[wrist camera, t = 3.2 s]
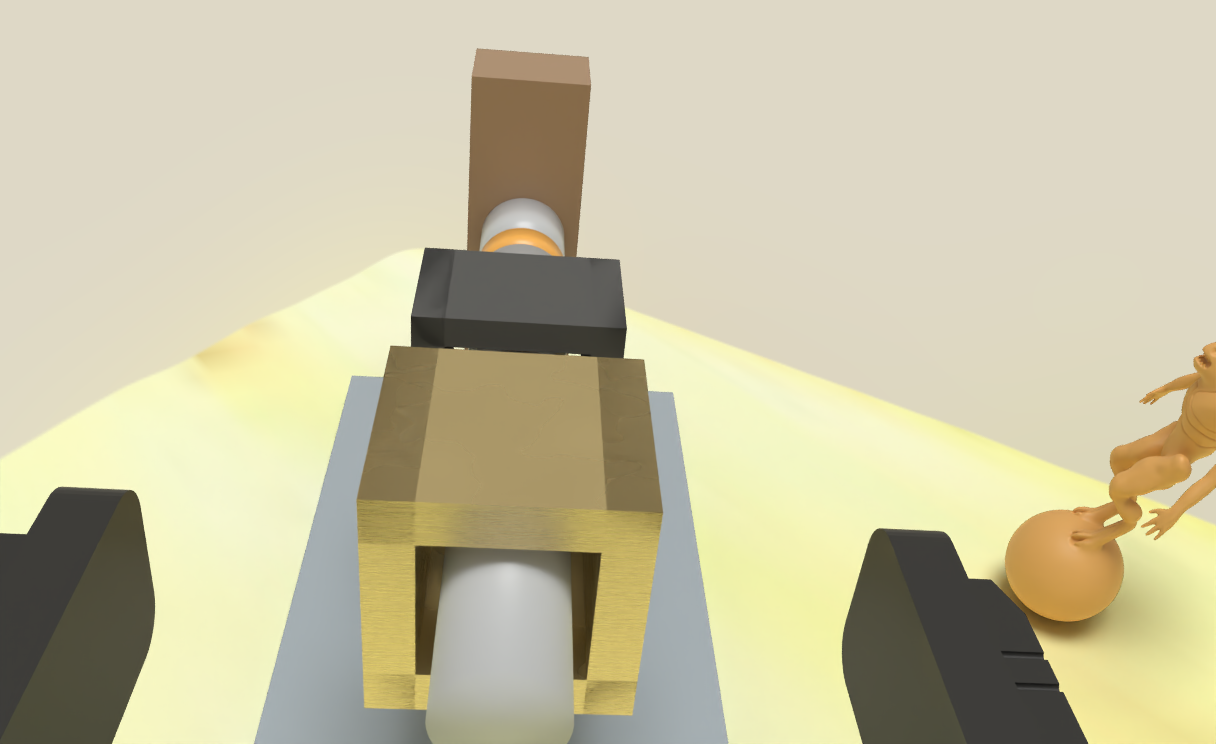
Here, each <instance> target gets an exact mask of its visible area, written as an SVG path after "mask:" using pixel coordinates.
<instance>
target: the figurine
mask: <svg viewBox="0 0 1216 744" xmlns="http://www.w3.org/2000/svg"><path fill="white" fill-rule="evenodd" d="M1203 351H1204V354H1205V355H1201V356H1200V355H1199V356H1198V357H1195V358H1194V367H1195V369H1196V370H1197V371H1198V372H1197V373H1193V374H1189V375H1186V376H1182V377H1179V378H1177V379H1175V380H1174V381H1172V382H1170V383H1168V384H1166V385H1164V386H1162V387H1160V388H1158V389H1156V390H1154V391H1152V392H1150V393H1148V394H1147V395H1146V397H1145V398H1143V399H1142V400H1140V403H1141V402H1143V401H1144V403H1143V404H1146V403H1147V402H1149V401H1151V400H1152V399H1154V398H1155V399H1154V400H1153V401H1152V402H1151V403H1150V404H1153V403H1154V402H1156V401H1157V400H1158V399H1159V398H1161V397H1162V396H1165V395H1166V394H1168V393H1169V392H1172V391H1177V390H1183V389H1187V388H1188V390H1187V392H1186V395H1185V397H1184V401H1183V405H1182V414H1181V416H1180V418H1179V420H1178V421H1175V422H1173V423H1171V424H1170V425H1168V426H1166V427H1164V428H1162V429H1160V430H1159V431H1157V432H1156V433H1154V434H1152V435H1149V436H1146V437H1143V438H1141V439H1139V440H1136V441H1134V442H1132V443H1129V444H1126V445H1122V446H1118V447H1116V448H1115V449H1113V451H1112V452H1111V455H1110V466H1111V469H1112V471H1113V473H1114V475H1115V476H1114V477H1113V479H1112V480H1111V482H1110V486H1109V495H1110V497H1111V499H1112V500H1113V502H1110V503H1107V504H1105V505H1102V506H1100V507H1097V508H1089V507H1078V508H1075V509H1074V510H1073V511H1070V510H1052V511H1046V512H1043V513H1040V514H1037V515H1035V516H1033V517H1031V518H1030V519H1028V520H1027V521H1025V522H1024V523H1023V524H1022V525H1021V526H1020V527H1019V528H1018V529H1017V530H1016V531H1015V533H1014V534H1013V536H1012V537H1011V539H1010V541H1009V544H1008V547H1007V550H1006V556H1005V569H1006V574H1007V578H1008V581H1009V584H1010V586H1011V588H1012V590H1013V591H1014V593H1015V594H1016V596H1017V597H1018V598H1019V599H1020V601H1021V602H1022V603H1023V604H1024V605H1026V606H1027V607H1028V608H1029V609H1031V610H1032V611H1034V612H1035V613H1037V614H1039V615H1041V616H1043V617H1046V618H1049V619H1052V620H1057V621H1067V622H1069V621H1079V620H1084V619H1087V618H1090V617H1092V616H1094V615H1096V614H1098V613H1100V612H1101V611H1103V610H1104V609H1105V608H1106V607H1107V606H1109V605H1110V603H1111V602H1112V601H1113V600H1114V598H1115V597H1116V595H1117V594H1118V592H1119V590H1120V587H1121V584H1122V580H1123V574H1124V565H1123V558H1122V554H1121V551H1120V548H1119V546H1118V544H1117V542H1116V540H1115V538H1117V537H1119V536H1121V535H1123V534H1125V533H1127V532H1129V531H1131V530H1132V529H1134V528H1135V526H1136V524H1137V521H1138V520H1139V519H1140V518H1141V517H1142V509H1141V507H1140V506H1139V505H1138V504H1137V503H1136V500H1137V496H1138V495H1144V494H1147V493H1150V492H1152V491H1155V490H1165V489H1168V488H1170V487H1172V486H1173V485H1175V484H1176V483H1179V482H1182V481H1184V480H1186V479H1187V478H1188V477H1189V476H1190V474H1191V465H1190V464H1192V463H1193V462H1195V461H1196V460H1198V459H1200V458H1204V457H1206V456H1209V455H1211V454H1212V453H1213V452H1214V451H1215V450H1216V342H1215V343H1211V344H1208V345H1206V346H1205V347H1204V348H1203ZM1215 488H1216V464H1215V465H1214V467H1213V468H1212V469H1211V470H1210V471H1209V472H1208V473H1207V474H1206V475H1205V476H1204V477H1203V478H1202V479H1200V480H1199V481H1197V482H1196V483H1194V484H1193V485H1192V486H1191V487H1190V488H1189V489H1187V490H1186V491H1185V493H1184V494H1183V495H1182V496H1181V497H1180V498H1179V500H1178V501H1177V502H1176V503H1175V504H1174V505H1173V506H1172V507H1171V508H1170V509H1154V510H1151V511H1149V513H1157V514H1158V516H1157V517H1156V518H1154V519H1152V520H1150V521H1149V522H1147V523H1145V524H1143V525H1142V526H1141V527H1146V526H1149V525H1152V524H1155V526H1154V527H1153V528H1152V529H1151V530H1149V531H1148V532H1147V533H1146V535H1150V534H1152V533H1154V532H1155V531H1157V530H1160V532H1159V533H1158V535H1157V536H1156V537H1155V538H1154V540H1156V539H1158V538H1159V537H1160V536H1162V535H1163V534H1164V533H1165V532H1166V531H1168V530H1169V529H1170V528H1171V527H1172V526H1173V525H1174V524H1175V523H1176V522H1177V521H1178V519H1179V518H1180V517H1181V515H1182V514H1183V513H1184V512H1185V511H1186V510H1188V509H1189V508H1191V507H1192V506H1194V505H1195V504H1196V503H1198V502H1199V501H1200V500H1202V499H1203V498H1204V497H1205V496H1207V495H1208V494H1209V493H1210V492H1211V491H1212V490H1213V489H1215ZM1117 514H1119V515H1120V516H1121V517H1122V519H1123V520H1121V521H1118V522H1116V523H1113V524H1111V525H1109V526H1106V527H1104V525H1103V524H1104V522H1105V521H1106V520H1108V519H1109V518H1111V517H1113V516H1115V515H1117Z"/></svg>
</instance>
